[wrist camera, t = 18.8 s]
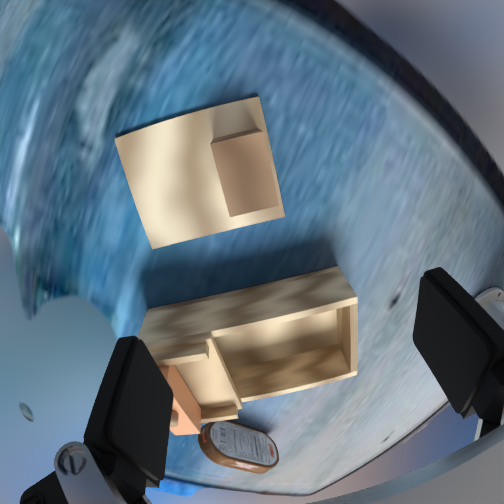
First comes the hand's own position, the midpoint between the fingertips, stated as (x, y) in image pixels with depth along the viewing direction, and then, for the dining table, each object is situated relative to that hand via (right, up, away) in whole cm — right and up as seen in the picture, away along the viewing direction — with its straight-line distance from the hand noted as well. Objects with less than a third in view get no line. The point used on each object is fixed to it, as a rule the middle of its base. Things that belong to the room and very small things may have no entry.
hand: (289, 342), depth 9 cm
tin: (-3, -27, +36) cm, 45 cm away
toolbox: (-1, -6, +26) cm, 27 cm away
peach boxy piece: (-9, -12, +20) cm, 25 cm away
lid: (-6, +10, +18) cm, 22 cm away
